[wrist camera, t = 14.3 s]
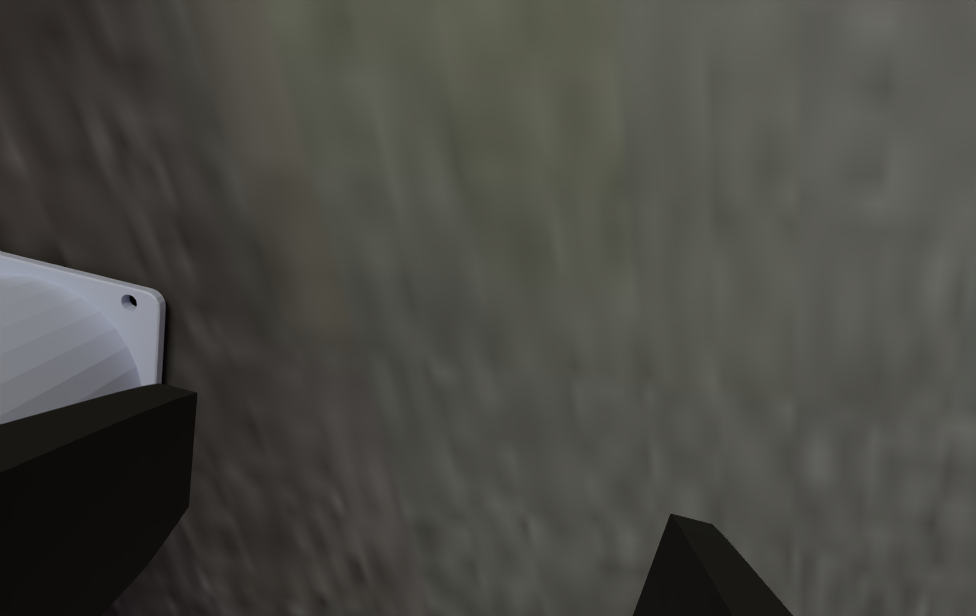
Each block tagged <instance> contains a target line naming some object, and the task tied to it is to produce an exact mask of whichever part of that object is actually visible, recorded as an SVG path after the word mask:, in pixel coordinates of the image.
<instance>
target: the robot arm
mask: <svg viewBox="0 0 976 616" xmlns="http://www.w3.org/2000/svg"><path fill="white" fill-rule="evenodd" d="M130 295H131V296H133V297H134V298H135V299H136V302H137V307H136V306H134V305H133V304H132V303H131V302H130V299H129V296H130ZM165 312H166V305H165V300H164V298H163V296H162V295H161V294H160V293H159V292H158V291H156V290H154V289H152V288H148V287H143V286H139V285H135V284H131V283H127V282H123V281H119V280H115V279H111V278H107V277H103V276H99V275H95V274H91V273H87V272H83V271H78V270H74V269H70V268H66V267H62V266H58V265H54V264H50V263H46V262H42V261H38V260H34V259H30V258H26V257H22V256H18V255H13V254H9V253H5V252H1V251H0V616H101V615H102V614H103V613H104V612H105V611H106V610H107V609H108V608H109V607H110V606H111V605H112V603H113V602H114V601H115V600H116V599H117V598H118V597H119V596H120V595H121V594H122V592H123V591H124V590H125V589H126V588H127V587H128V586H129V585H130V584H131V583H132V581H133V580H134V579H135V578H136V577H137V576H138V575H139V574H140V572H141V571H142V570H143V569H144V568H145V567H146V566H147V565H148V563H149V562H150V560H151V559H152V558H153V556H154V555H155V554H156V552H157V551H158V550H159V548H160V547H161V546H162V544H163V543H164V541H165V540H166V539H167V537H168V536H169V534H170V533H171V532H172V530H173V529H174V527H175V526H176V524H177V523H178V521H179V520H180V518H181V517H182V516H183V514H184V513H185V511H186V510H187V508H188V507H189V496H190V483H191V469H192V456H193V443H194V429H195V416H196V403H197V393H196V392H192V391H188V390H184V389H180V388H176V387H172V386H168V385H164V384H161V383H162V366H163V348H164V330H165ZM633 616H793V615H792V614H791V613H790V612H789V611H788V609H787V608H786V607H785V606H784V605H783V604H782V602H781V601H780V600H779V599H778V598H777V597H776V596H775V594H774V593H773V592H772V591H771V590H770V589H769V587H768V586H767V585H766V584H765V583H764V582H763V580H762V579H761V578H760V577H759V576H758V575H757V573H756V572H755V571H754V570H753V569H752V568H751V566H750V565H749V564H748V563H747V562H746V561H745V559H744V558H743V557H742V556H741V555H740V554H739V553H738V551H737V550H736V549H735V548H734V547H733V546H732V545H731V543H730V542H729V541H728V540H727V539H726V538H725V537H724V536H723V535H722V534H721V533H720V532H719V531H718V529H717V528H716V527H715V526H714V525H713V524H709V523H705V522H702V521H698V520H694V519H690V518H686V517H682V516H678V515H674V514H670V516H669V519H668V522H667V525H666V527H665V530H664V533H663V535H662V538H661V541H660V544H659V546H658V549H657V552H656V554H655V557H654V560H653V563H652V565H651V568H650V571H649V573H648V576H647V579H646V582H645V584H644V587H643V590H642V592H641V595H640V598H639V601H638V603H637V606H636V609H635V611H634V614H633Z"/></svg>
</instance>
